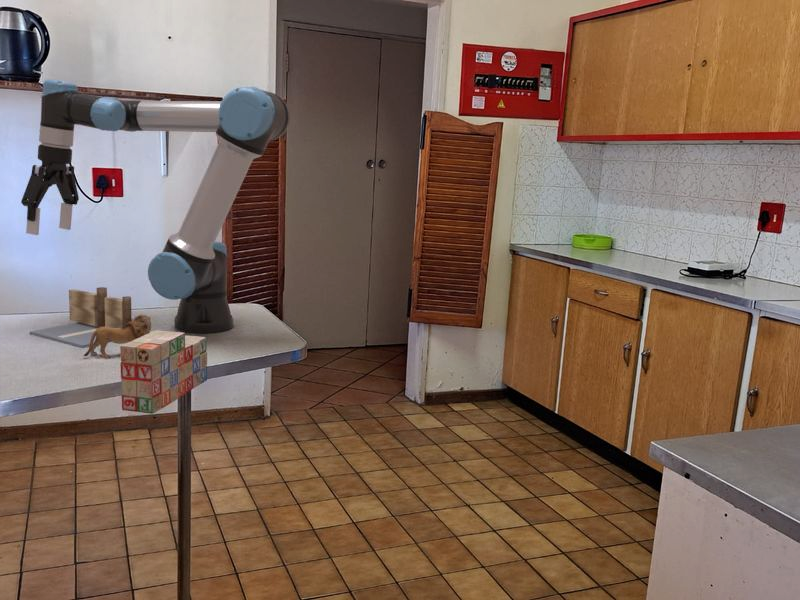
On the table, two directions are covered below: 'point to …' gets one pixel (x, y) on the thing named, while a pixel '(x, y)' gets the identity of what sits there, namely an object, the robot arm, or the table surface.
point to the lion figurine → (119, 334)
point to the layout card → (69, 334)
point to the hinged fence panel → (83, 307)
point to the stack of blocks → (161, 369)
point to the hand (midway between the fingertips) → (49, 231)
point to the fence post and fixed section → (112, 310)
